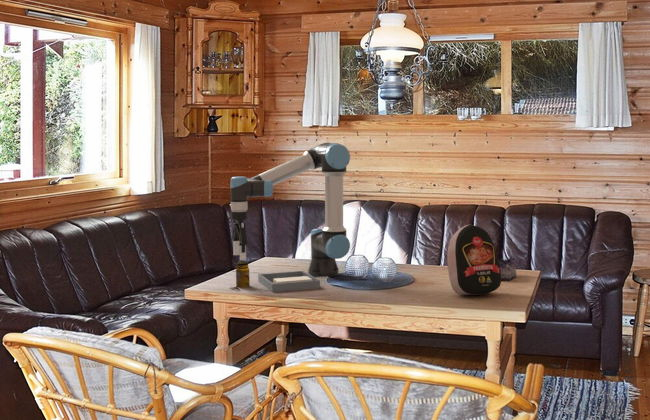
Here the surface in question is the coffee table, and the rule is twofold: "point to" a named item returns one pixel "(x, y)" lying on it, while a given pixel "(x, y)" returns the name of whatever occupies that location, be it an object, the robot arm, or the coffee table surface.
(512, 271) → the geode
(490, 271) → the packaged food
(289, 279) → the cream rectangular block
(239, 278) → the condiment
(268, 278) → the gray tray
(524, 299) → the coffee table surface
